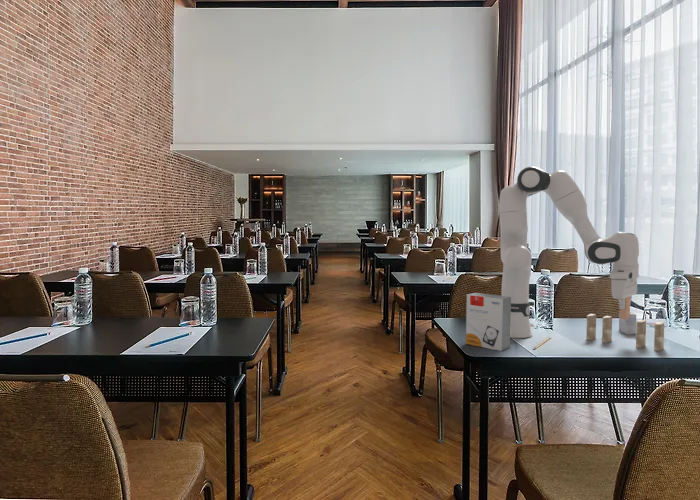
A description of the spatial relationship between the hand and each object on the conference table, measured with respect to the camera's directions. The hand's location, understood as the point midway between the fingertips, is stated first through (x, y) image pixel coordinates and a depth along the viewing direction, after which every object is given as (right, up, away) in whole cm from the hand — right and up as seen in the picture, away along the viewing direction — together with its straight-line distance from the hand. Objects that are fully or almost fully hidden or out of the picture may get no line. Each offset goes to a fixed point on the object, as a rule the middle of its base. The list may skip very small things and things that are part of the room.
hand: (624, 307), depth 185 cm
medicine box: (+13, -14, +21) cm, 28 cm away
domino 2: (-4, -14, +5) cm, 16 cm away
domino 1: (-9, -14, +9) cm, 19 cm away
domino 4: (+4, -15, -4) cm, 15 cm away
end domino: (+8, -15, -8) cm, 19 cm away
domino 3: (0, -4, 0) cm, 4 cm away
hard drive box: (-55, -15, -2) cm, 57 cm away
